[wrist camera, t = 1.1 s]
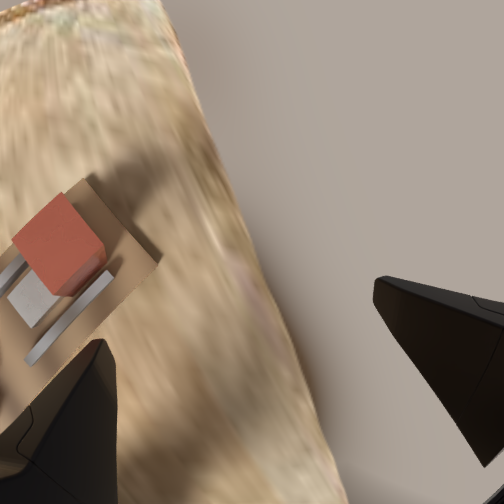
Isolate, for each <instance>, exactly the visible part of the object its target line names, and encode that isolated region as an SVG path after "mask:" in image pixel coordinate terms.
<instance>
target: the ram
mask: <svg viewBox="0 0 504 504" xmlns="http://www.w3.org/2000/svg"><path fill="white" fill-rule="evenodd" d="M12 241H13V243H14V244H15V246H16V247H17V249H18V250H19V252H20V253H21V254H22V256H23V257H24V259H25V260H26V261H27V263H28V264H29V265H30V267H31V268H32V270H31V271H30V272H29V273H28V274H27V275H26V276H25V277H24V278H23V279H22V281H21V282H20V283H19V284H18V285H17V286H16V287H15V288H14V290H13V291H12V292H11V293H10V294H9V295H8V297H7V298H8V300H9V301H10V302H11V304H12V305H13V306H14V308H15V309H16V310H17V312H18V313H19V314H20V315H21V317H22V318H23V319H24V320H25V322H26V323H27V324H28V325H29V327H30V328H31V329H32V328H35V327H38V326H39V325H40V323H41V322H42V321H43V320H44V319H45V318H46V317H47V316H48V315H49V313H50V312H51V311H52V310H53V309H54V308H55V307H56V306H57V305H58V304H59V303H60V302H61V300H62V299H63V298H64V297H74V296H75V295H76V294H77V293H78V292H79V291H80V290H81V289H82V288H83V287H84V286H85V285H86V284H87V283H88V282H89V281H90V280H91V279H92V278H93V277H94V276H95V275H96V274H97V273H98V272H99V271H100V270H101V269H102V268H103V267H104V266H105V265H106V264H107V263H108V261H107V257H106V252H105V247H104V244H103V243H102V242H101V241H100V239H99V238H98V237H97V236H96V235H95V233H94V232H93V231H92V230H91V229H90V227H89V226H88V225H87V224H86V222H85V221H84V220H83V219H82V217H81V216H80V215H79V214H78V212H77V211H76V210H75V209H74V207H73V206H72V205H71V203H70V202H69V201H68V200H67V198H66V197H65V196H64V194H63V193H62V192H61V193H60V194H58V195H57V196H56V197H55V198H54V199H53V200H52V201H51V202H49V203H48V204H47V205H46V206H45V207H44V208H43V209H42V210H41V211H40V212H39V213H38V214H37V215H35V216H34V217H33V218H32V219H31V220H30V221H29V222H28V223H27V224H26V225H25V226H24V227H23V228H22V229H21V230H20V231H19V232H18V233H17V234H16V235H15V236H14V237H13V238H12Z"/></svg>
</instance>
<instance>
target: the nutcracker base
mask: <svg viewBox="0 0 504 504" xmlns="http://www.w3.org/2000/svg"><path fill="white" fill-rule="evenodd" d="M64 196H65V197H66V198H67V200H68V201H69V202H70V203H71V205H72V206H73V207H74V209H75V210H76V211H77V212H78V214H79V215H80V216H81V217H82V219H83V220H84V221H85V222H86V224H87V225H88V226H89V227H90V229H91V230H92V231H93V232H94V233H95V235H96V236H97V237H98V238H99V239H100V241H101V242H102V243H103V244H104V247H105V252H106V257H107V261H108V263H107V264H106V265H105V266H104V267H103V268H102V269H101V270H100V271H99V272H98V273H97V274H96V275H95V276H94V277H93V278H92V279H91V280H90V281H89V282H88V283H87V284H86V285H85V286H84V287H83V288H82V289H81V290H80V291H79V292H78V293H77V294H76V295H75V296H74V297H64V298H63V299H62V300H61V302H60V303H59V304H58V305H57V306H56V307H55V308H54V309H53V310H52V311H51V312H50V313H49V315H48V316H47V317H46V318H45V319H44V320H43V321H42V322H41V323H40V325H39V326H38V327H35V328H32V329H31V328H30V327H29V325H28V324H27V323H26V322H25V320H24V319H23V318H22V317H21V315H20V314H19V313H18V312H17V310H16V309H15V308H14V306H13V305H12V304H11V302H10V301H9V300H8V298H7V297H8V295H9V294H10V293H11V292H12V291H13V290H14V288H15V287H16V286H17V285H18V284H19V283H20V282H21V281H22V279H23V278H24V277H25V276H26V275H27V274H28V273H29V272H30V271H31V270H32V268H31V267H30V265H29V264H28V263H27V261H26V260H25V259H24V257H23V256H22V254H21V253H20V252H19V250H18V249H17V247H16V246H15V244H14V243H13V244H12V245H11V246H10V247H9V248H8V249H7V250H6V251H5V252H4V253H3V254H2V256H1V257H0V434H1V433H2V432H3V431H4V430H5V429H6V428H7V427H8V426H9V425H10V424H11V423H12V422H13V421H14V420H15V419H16V418H17V417H18V416H19V415H20V414H21V413H22V412H23V410H24V409H25V408H26V407H27V405H28V404H29V403H30V402H31V401H32V400H33V398H34V397H35V396H36V395H37V394H38V392H39V391H40V390H41V389H42V388H43V387H44V385H45V384H46V383H47V382H48V381H49V380H50V379H51V377H52V376H53V375H54V374H55V373H56V372H57V371H58V369H59V368H60V367H61V366H62V365H63V364H64V363H65V362H66V361H67V359H68V358H69V357H70V356H71V355H72V354H73V353H74V352H75V351H76V350H77V348H78V347H79V346H80V345H81V344H82V343H83V342H84V341H85V340H86V339H87V338H88V337H89V335H90V334H91V333H92V332H93V331H94V330H95V329H96V328H97V327H98V326H99V325H100V324H101V323H102V322H103V321H104V320H105V319H106V318H107V316H108V315H109V314H110V313H111V312H112V311H113V310H114V309H115V308H116V307H117V306H118V305H119V304H120V303H121V302H122V301H123V300H124V299H125V298H126V297H127V296H128V295H129V294H130V293H131V292H132V291H133V290H134V289H135V288H136V287H137V286H138V285H139V284H140V283H141V282H142V281H143V280H144V279H145V278H146V277H147V276H148V275H149V274H150V273H151V272H152V271H153V270H154V269H155V268H156V267H157V266H158V264H157V263H156V262H155V261H154V260H153V259H152V257H151V256H150V255H149V254H148V253H147V252H146V251H145V250H144V249H143V248H142V246H141V245H140V244H139V243H138V242H137V241H136V240H135V239H134V237H133V236H132V235H131V234H130V233H129V232H128V231H127V229H126V228H125V227H124V226H123V225H122V224H121V222H120V221H119V220H118V219H117V218H116V217H115V215H114V214H113V213H112V212H111V211H110V210H109V208H108V207H107V206H106V205H105V204H104V202H103V201H102V200H101V199H100V197H99V196H98V195H97V194H96V193H95V191H94V190H93V189H92V188H91V186H90V185H89V184H88V183H87V181H86V180H85V179H84V178H83V179H82V180H80V181H79V182H78V183H77V184H76V185H74V186H73V187H72V188H71V189H70V190H68V191H67V192H66V193H65V194H64Z"/></svg>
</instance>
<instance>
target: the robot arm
mask: <svg viewBox="0 0 504 504" xmlns="http://www.w3.org/2000/svg"><path fill="white" fill-rule="evenodd" d="M373 303H374V306H375V307H376V309H377V311H378V312H379V314H380V315H381V317H382V319H383V320H384V322H385V324H386V325H387V327H388V329H389V330H390V332H391V333H392V335H393V336H394V338H395V339H396V341H397V342H398V343H399V345H400V346H401V347H402V349H403V350H404V351H405V353H406V354H407V355H408V357H409V358H410V359H411V361H412V362H413V363H414V365H415V366H416V368H417V369H418V370H419V372H420V373H421V374H422V376H423V377H424V379H425V380H426V381H427V383H428V384H429V386H430V387H431V388H432V390H433V391H434V392H435V394H436V395H437V397H438V398H439V400H440V401H441V403H442V404H443V406H444V407H445V409H446V410H447V412H448V413H449V415H450V416H451V417H452V419H453V420H454V422H455V423H456V425H457V426H458V428H459V430H460V431H461V433H462V434H463V436H464V437H465V439H466V441H467V442H468V444H469V445H470V447H471V448H472V450H473V451H474V453H475V455H476V456H477V458H478V459H479V461H480V463H481V464H482V466H483V467H484V468H485V467H486V466H488V464H490V463H491V462H492V461H493V460H494V459H495V458H496V457H497V456H498V455H499V454H500V453H501V452H502V451H503V450H504V303H502V302H497V301H492V300H488V299H483V298H479V297H475V296H472V297H471V296H470V295H466V294H462V293H458V292H454V291H449V290H445V289H441V288H437V287H433V286H429V285H425V284H420V283H416V282H412V281H407V280H403V279H399V278H395V277H391V276H382V277H379V278H377V279H376V280H375V282H374V292H373ZM117 406H118V405H117V386H116V364H115V360H114V357H113V355H112V353H111V351H110V349H109V346H108V344H107V342H106V341H105V339H95V340H92V341H91V342H90V343H89V344H88V345H87V346H86V347H85V348H84V349H83V350H82V351H81V352H80V353H79V354H78V355H77V356H76V357H75V358H74V359H73V360H72V361H71V362H70V363H69V364H68V365H67V366H66V367H65V368H64V369H63V370H62V371H61V372H60V373H59V374H58V375H57V376H56V377H55V378H54V379H53V380H52V381H51V382H50V383H49V384H48V385H47V386H46V387H45V388H44V389H43V390H42V392H41V393H40V394H39V395H38V396H37V397H36V398H35V399H34V400H33V401H32V402H31V403H30V406H27V407H26V409H25V410H24V411H23V412H22V413H21V414H20V415H19V416H18V417H17V418H16V419H15V420H14V421H13V422H12V423H11V424H10V425H9V426H8V427H7V428H6V429H5V430H4V431H3V432H2V433H1V434H0V504H118V494H117V463H116V443H117ZM483 504H504V484H503V485H502V486H501V487H500V488H499V489H498V490H497V491H496V492H495V493H494V494H493V495H492V496H491V497H490V498H489V499H488V500H486V501H485V502H484V503H483Z"/></svg>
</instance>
